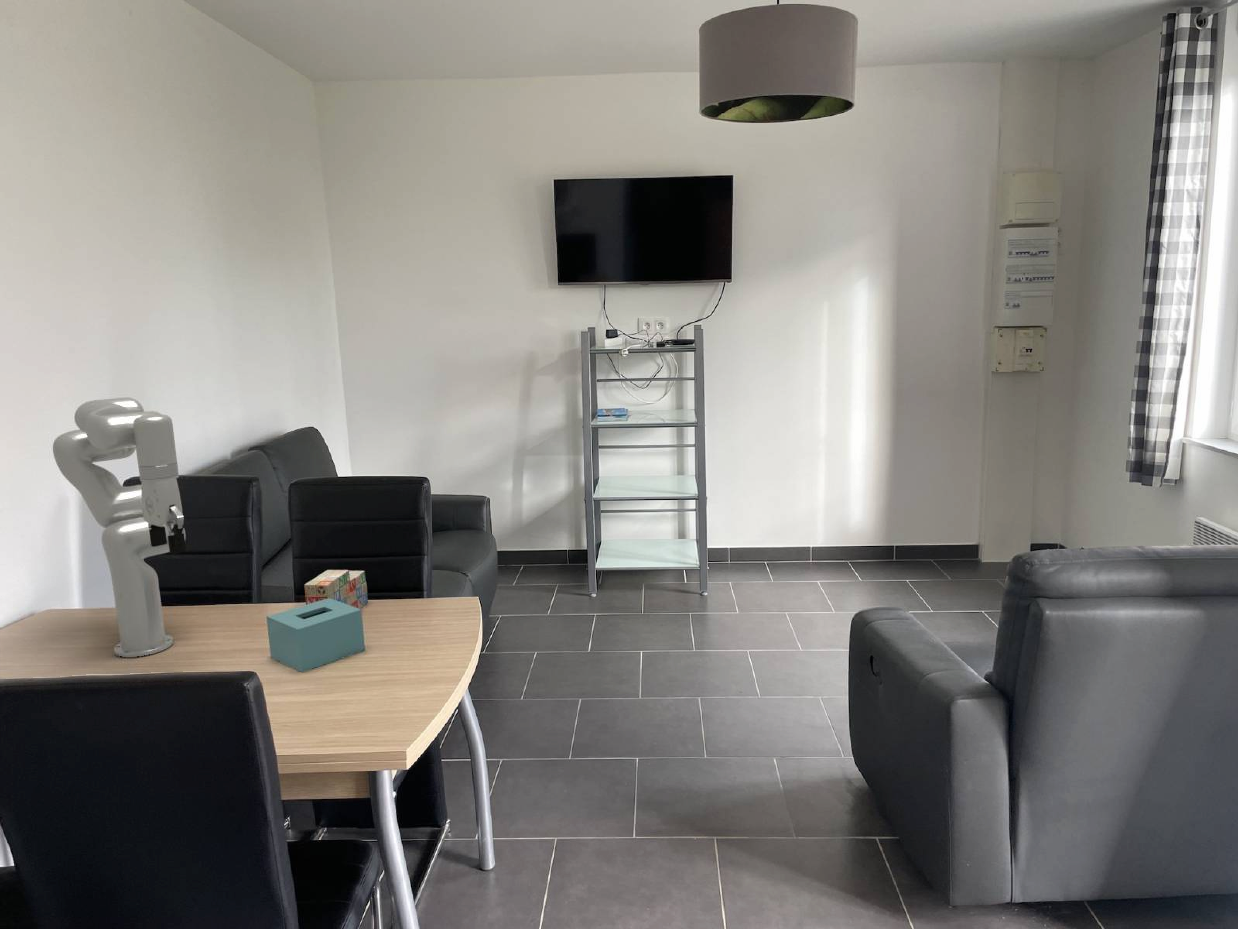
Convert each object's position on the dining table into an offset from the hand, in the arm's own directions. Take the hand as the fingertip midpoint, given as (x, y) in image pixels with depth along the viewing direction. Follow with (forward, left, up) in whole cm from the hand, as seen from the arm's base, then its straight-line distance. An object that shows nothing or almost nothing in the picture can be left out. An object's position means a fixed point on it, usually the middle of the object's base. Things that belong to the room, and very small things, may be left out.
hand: (168, 548), depth 195 cm
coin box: (+16, +24, -28) cm, 40 cm away
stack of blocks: (-3, +42, -29) cm, 51 cm away
